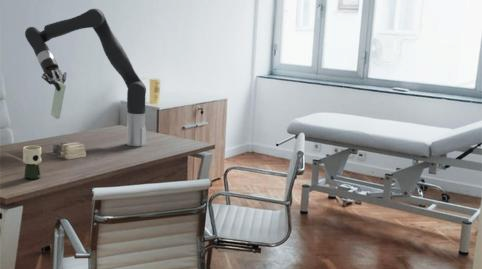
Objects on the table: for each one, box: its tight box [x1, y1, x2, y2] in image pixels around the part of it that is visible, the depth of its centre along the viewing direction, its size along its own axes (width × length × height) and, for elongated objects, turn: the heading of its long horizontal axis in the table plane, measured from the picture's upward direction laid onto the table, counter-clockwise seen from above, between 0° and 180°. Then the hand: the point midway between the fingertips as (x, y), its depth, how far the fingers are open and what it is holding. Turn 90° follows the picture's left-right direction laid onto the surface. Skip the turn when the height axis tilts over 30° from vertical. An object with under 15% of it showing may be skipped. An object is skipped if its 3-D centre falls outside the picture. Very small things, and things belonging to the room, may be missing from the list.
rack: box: [45, 141, 88, 161], centre depth 278 cm, size 18×12×7 cm, turn 50°
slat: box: [50, 81, 67, 120], centre depth 287 cm, size 5×2×18 cm, turn 51°
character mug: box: [22, 145, 42, 180], centre depth 241 cm, size 11×7×13 cm, turn 162°
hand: (61, 89), depth 284 cm, fingers closed on slat, 1 cm apart
